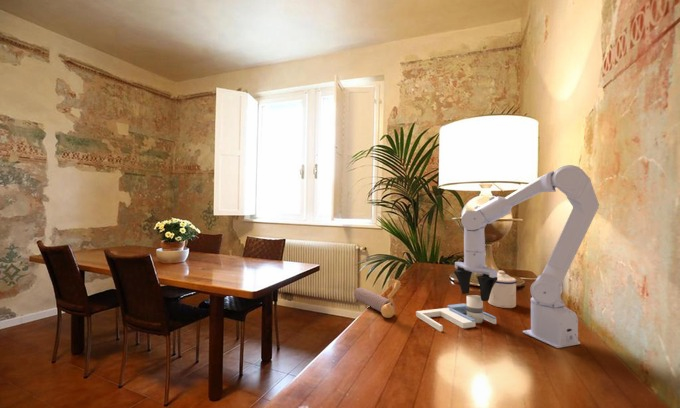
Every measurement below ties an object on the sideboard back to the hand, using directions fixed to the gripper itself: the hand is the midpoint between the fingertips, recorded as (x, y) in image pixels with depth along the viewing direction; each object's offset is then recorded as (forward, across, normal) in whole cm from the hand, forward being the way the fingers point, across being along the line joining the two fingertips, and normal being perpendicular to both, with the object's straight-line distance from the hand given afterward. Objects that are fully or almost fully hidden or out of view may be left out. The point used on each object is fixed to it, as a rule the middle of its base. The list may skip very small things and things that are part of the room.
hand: (474, 296), depth 88 cm
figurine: (+7, +10, +23) cm, 26 cm away
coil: (+7, +21, +24) cm, 32 cm away
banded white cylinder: (+7, 0, 0) cm, 7 cm away
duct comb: (+7, +2, +5) cm, 9 cm away
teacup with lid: (+7, +10, -20) cm, 24 cm away
